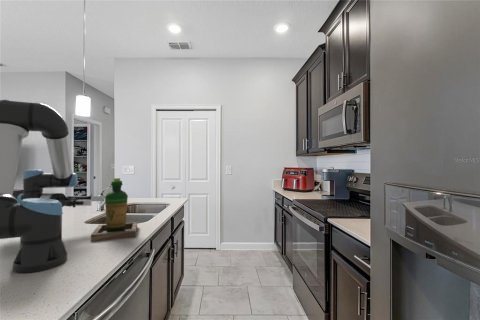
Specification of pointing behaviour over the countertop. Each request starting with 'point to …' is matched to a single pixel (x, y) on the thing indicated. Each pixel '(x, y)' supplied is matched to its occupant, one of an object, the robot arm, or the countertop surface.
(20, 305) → the countertop surface
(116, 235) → the walnut frame
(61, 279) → the countertop surface
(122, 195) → the bottle
